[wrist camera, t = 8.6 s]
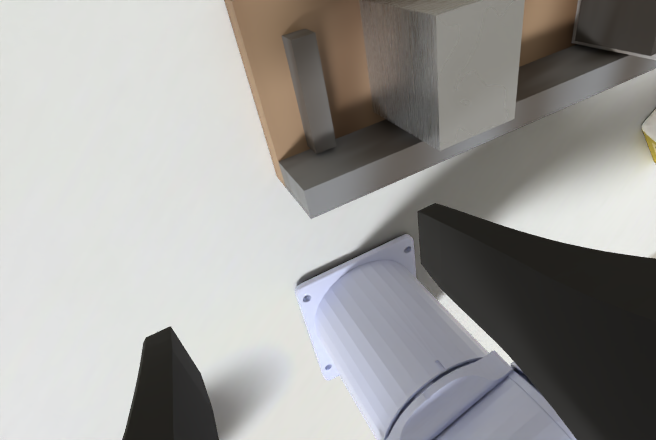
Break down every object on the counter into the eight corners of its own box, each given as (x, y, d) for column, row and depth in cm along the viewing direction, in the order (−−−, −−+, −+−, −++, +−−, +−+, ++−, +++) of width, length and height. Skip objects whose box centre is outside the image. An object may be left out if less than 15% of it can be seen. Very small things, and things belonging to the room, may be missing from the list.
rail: (668, -128, 22) (827, -147, 17) (630, 34, 27) (746, 54, 22) (223, -2, 16) (279, 20, 11) (277, 176, 21) (331, 244, 16)
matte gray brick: (443, 84, 21) (522, 115, 17) (372, 111, 20) (439, 150, 16) (441, -27, 18) (535, -19, 14) (358, -1, 17) (436, 15, 13)
